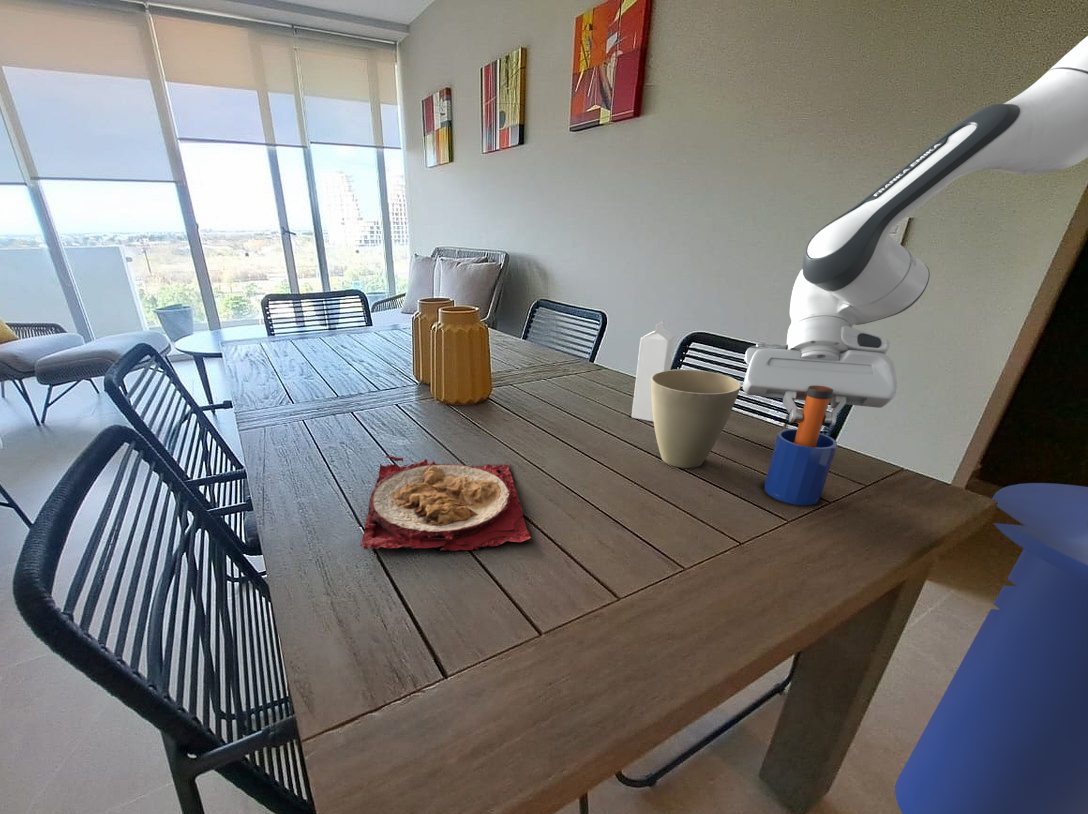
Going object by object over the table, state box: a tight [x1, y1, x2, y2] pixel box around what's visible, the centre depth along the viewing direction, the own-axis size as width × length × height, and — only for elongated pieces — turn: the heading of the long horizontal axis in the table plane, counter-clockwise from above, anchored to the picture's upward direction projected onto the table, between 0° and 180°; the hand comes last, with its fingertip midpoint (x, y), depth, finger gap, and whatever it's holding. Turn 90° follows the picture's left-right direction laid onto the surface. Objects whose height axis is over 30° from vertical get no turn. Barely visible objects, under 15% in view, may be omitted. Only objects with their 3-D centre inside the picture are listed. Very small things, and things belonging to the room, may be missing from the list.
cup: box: [763, 428, 838, 506], centre depth 78 cm, size 8×8×10 cm
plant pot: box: [651, 368, 742, 469], centre depth 89 cm, size 15×15×16 cm
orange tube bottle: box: [794, 386, 833, 447], centre depth 75 cm, size 3×3×12 cm
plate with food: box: [359, 455, 532, 552], centre depth 77 cm, size 24×26×3 cm
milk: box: [631, 320, 676, 423], centre depth 109 cm, size 6×6×22 cm
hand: (812, 423), depth 74 cm, fingers closed on orange tube bottle, 3 cm apart
